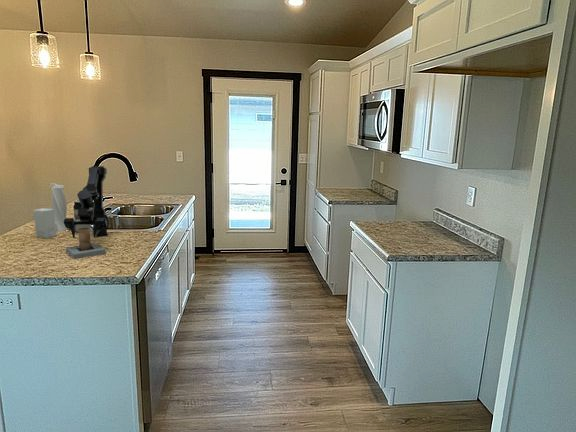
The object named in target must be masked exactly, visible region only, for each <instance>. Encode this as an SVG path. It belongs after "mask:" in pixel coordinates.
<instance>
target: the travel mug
mask: <svg viewBox="0 0 576 432" xmlns="http://www.w3.org/2000/svg"><path fill="white" fill-rule="evenodd" d="M73 203H74V205H72V206H73V217H74V221H80V219H79V218H78V217H79V216H78V209H82V205H81V203H80V201H79V199H75V200H73ZM80 228H90V229H91V225H76V226H75V229H76V230H75V232H78V229H80Z"/></svg>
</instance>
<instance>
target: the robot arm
mask: <svg viewBox="0 0 576 432" xmlns="http://www.w3.org/2000/svg"><path fill="white" fill-rule="evenodd" d="M107 173H108V170H107V167H105V166H102V165H101V166H99V165H92V166H90V167H88V178H87V183H86V185H85V186H84V187H83V188H82V190H80V191H79V192H78V193H77V195H76V196H77V198H78V200H79V201H80V203H81V205H82V209H78V216H79V217H78V218H79V219H80V221H75V220H74V218H73V217H66V218H65V219H64V224H65V226H66V228H68V230H70V231H71V235H72V239H75V237H76V229H75V226H76V225H90V226H92V235H93V238H94V239H95V238H97V237H103V236H104V237H105V236H108V235H109V234H108V230H107V227H108V225H110V221H109V217H108V214H107V211H106V210H105V208H104V202H103V201H104V200H103V198H104V193H103V187H104V185H103V184H104V183H103V182H104V180H105V179H106V177H107Z"/></svg>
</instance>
